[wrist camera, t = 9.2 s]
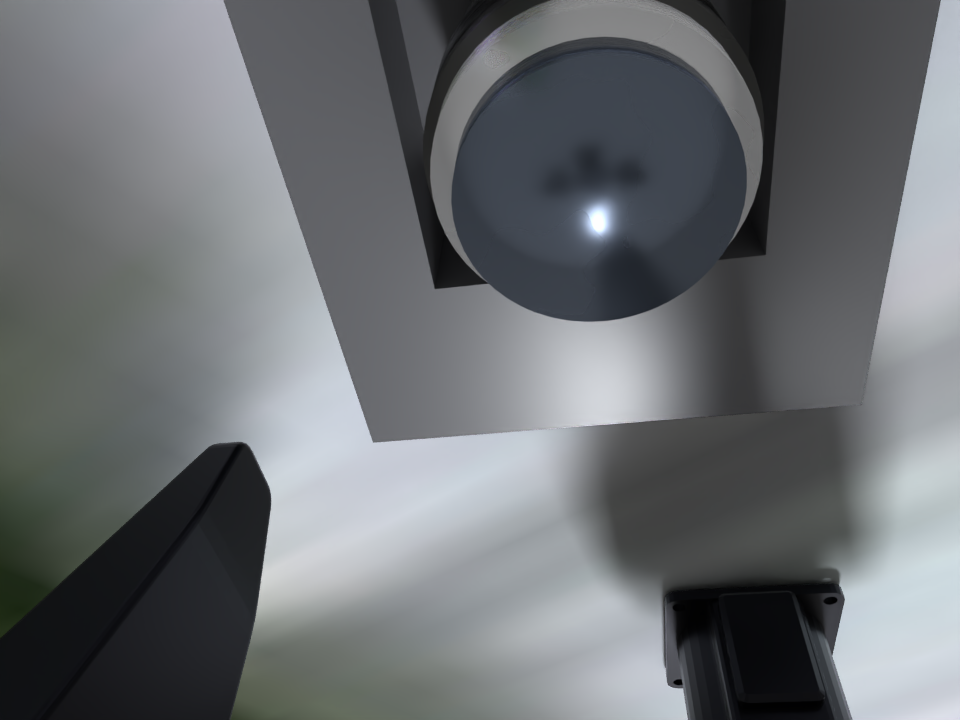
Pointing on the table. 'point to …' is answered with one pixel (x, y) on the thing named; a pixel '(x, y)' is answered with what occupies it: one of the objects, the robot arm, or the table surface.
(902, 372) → the table surface
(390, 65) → the camera body
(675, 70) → the lens
